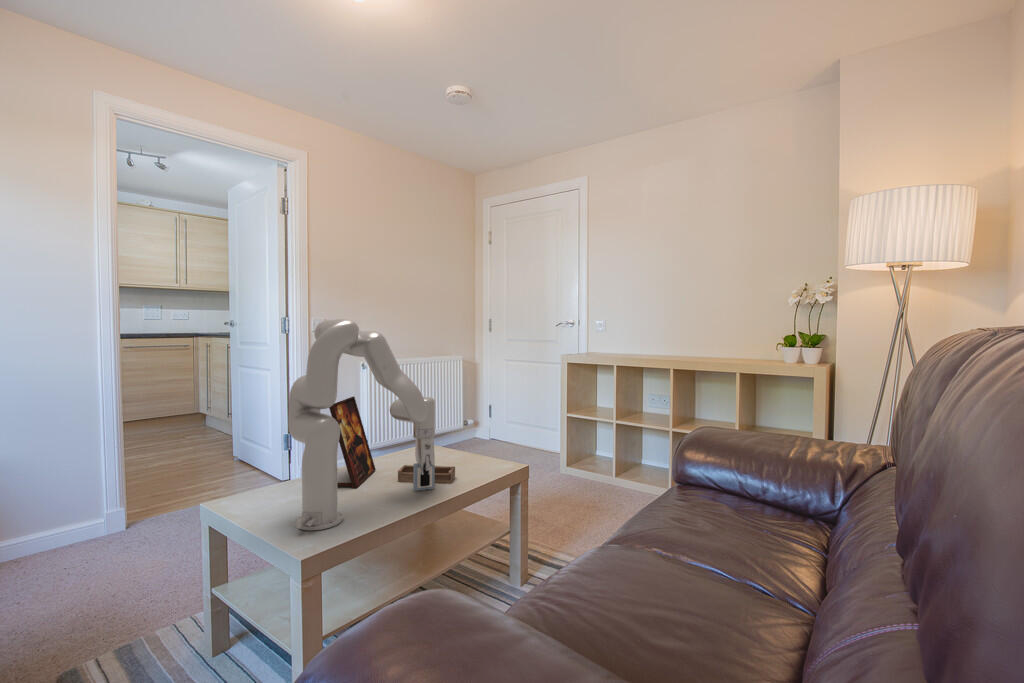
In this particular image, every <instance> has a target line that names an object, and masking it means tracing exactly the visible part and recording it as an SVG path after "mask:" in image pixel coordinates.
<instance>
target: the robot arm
mask: <svg viewBox="0 0 1024 683" xmlns="http://www.w3.org/2000/svg"><path fill="white" fill-rule="evenodd" d="M314 338H315V341H314V342H313V344H312V346H311V347H310V349H309V351H308V352H309V353H308V357H307V361H306V362H307V363H306V372H305V374H306V375H302V376H300V377H298V378H297V379H296V380H295V381H294V382H293V384H292V386H291V387H290V388H291V389H290V392H289V401H288V403H289V404H288V431H289V434H290V436H291V437H292V438H293V439H294V440H295V441H297V442H298V443H299V442H300V443H303V444H305V445H304V450H303V453H302V459H301V488H302V489H301V491H302V492H301V498H302V499H301V505H302V507H301V508H302V509H301V510H302V511H301V516H300V517H298V518H297V520H296V521H295V524H294V527H295V528H296V529H298V530H299V529H300V530H303V531H309V532H310V531H311V532H312V531H321V530H325V529H330V528H333V527H335V526H337V525H339V524H340V523H342V522H343V521H344V514H343V513H342V512H341V511H339V509H338V504H339V503H338V495H339V494H338V487H337V483H338V453H339V452H338V448H339V445H340V443H339V438H340V427H339V424H338V422H337V421H336V420H335V419H334V418H333V417H332V416H331V415H329V414H326V413H321V410H325V409H326V410H327V409H329V407H331V406H332V405H333V404H334V403H336V400H337V397H338V381H339V380H338V376H339V375H338V374H339V364H340V359H341V357H342V356H343V354H346V355H349V356H353V357H357V358H361V357H362V358H364V360H365V362H366V363H367V365H368V367H369V369H370V371H371V373H372V375H373V376H374V379H375V381H376V382H377V383H378V384H379V385H380V386H382V387H383V388H385V389H386V390H388V391H389V392H392V394H394V395H395V396H396V397H397V398H398V399H395V400H394V401H393V402H392V403H391V404H390V407H389V414H390V416H391V417H392V418H394V419H395V420H397V421H401V422H406V423H410V424H412V425H413V426H412V427H413V428H412V430H413V432H412V433H413V434H412V436H413V438H414V439H415V452H414V453H415V454H414V455H415V461H416V463H418V464H419V465H420V466H421V475H420V485H421V486H429V485H430V464H431V465H432V466H434V465H435V466H436V462H435V459H436V458H435V457H436V456H435V442H434V438H435V437H436V436H435V435H436V401H435V398H433V397H430V396H423V394H422V392H421V390H420V389H419V387H418V386H417V385H416V384H415V382H414V381H412V380H411V379H410V377H409V376H408V375H407V374H406V373H404V371H403V370H402V369H401V368H400V367H401V366H399V364H398V361H397V360H396V359H397V358H396V357H395V355H394V353H393V351H392V349H391V347H390V345H389V343H388V341H387V339H386V337H385V336H384V335H383V334H382V333H380V332H378V331H373V330H370V331H368V330H366V331H365V330H364V331H362V330H360V329H359V326H358V324H357V323H356V322H355V321H353V320H349V319H344V318H343V319H328V320H323V321H321V322H319V323H318V324H317V325H316V326H315V329H314ZM423 464H425V465H423ZM424 468H425V469H424Z"/></svg>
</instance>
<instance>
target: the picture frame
mask: <svg viewBox="0 0 1024 683" xmlns="http://www.w3.org/2000/svg"><path fill="white" fill-rule="evenodd" d="M328 409H329V412H330V416H331V417H333V418H334V419H335V420H336V421H337V422H338V424H339V427H340V438H339V447H340V449H341V453H342V457H343V459H344V463H345V467H346V471H347V473H348V477H349V481H350V482H337V488H347V487H348V488H349V487H350V488H352V489H356V488H358V487H359V486H361V484H363V483H364V482H365V481H366V480H367V479H368V478H369V477H370V476H371V475H372V474H373V473H374V472H376V471H377V469H376V466H375V463H374V459H373V455H372V452H371V449H370V445H369V442H368V438H367V436H366V432H365V428H364V424H363V422H362V418H361V415H360V411H359V408H358V404H357V400H356V398H355V395H354V396H350V397H347V398H345V399H342V400H340V401H338V402H335V403H334V404H333V405H332V406H331V407H329V408H328Z"/></svg>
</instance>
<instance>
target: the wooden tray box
mask: <svg viewBox="0 0 1024 683" xmlns="http://www.w3.org/2000/svg"><path fill="white" fill-rule="evenodd" d="M454 478H455V479H456V466H444V465H440V466H439V465H435V484H445V483H451V482H452V483H453V481H454V480H455V479H454ZM453 479H454V480H453ZM397 482H398V483H413V465H407V464H406V465H405V464H404V465H403V466H401V468H399V469H398V470H397ZM452 483H451V484H452Z"/></svg>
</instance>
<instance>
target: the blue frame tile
mask: <svg viewBox="0 0 1024 683" xmlns="http://www.w3.org/2000/svg"><path fill="white" fill-rule="evenodd" d="M423 465H425V464H423ZM412 466H413V482H412V483H413V484H412V486H413V487H412V488H413V491H414V492H420V491H426V489H428V490H433V489H432V488H436V487H435V486H436V483H435V466H436V464H435V465H434V466H432V465H431V464H430V485H429V486H421V485H420V475H421V466H420V465H419V464H418V463H417V462H416V463H413V465H412ZM424 469H425V468H424ZM419 490H420V491H419Z"/></svg>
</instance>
